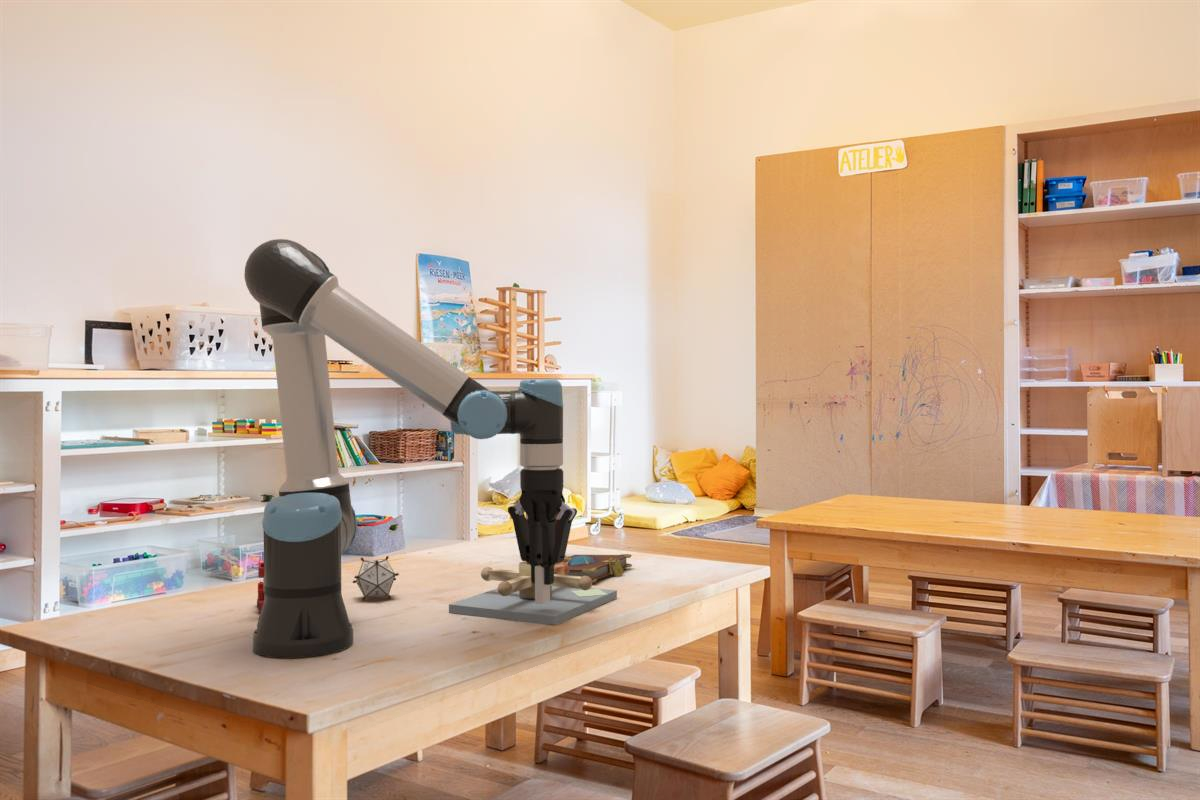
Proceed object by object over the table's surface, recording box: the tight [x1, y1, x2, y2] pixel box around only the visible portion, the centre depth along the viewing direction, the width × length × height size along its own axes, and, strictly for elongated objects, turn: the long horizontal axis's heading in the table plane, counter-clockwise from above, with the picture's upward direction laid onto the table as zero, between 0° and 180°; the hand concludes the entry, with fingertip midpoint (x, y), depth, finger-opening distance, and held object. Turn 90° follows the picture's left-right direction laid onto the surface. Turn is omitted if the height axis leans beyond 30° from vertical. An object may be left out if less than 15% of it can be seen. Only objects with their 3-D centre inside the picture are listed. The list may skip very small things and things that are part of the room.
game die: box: [352, 555, 400, 602], centre depth 191 cm, size 9×8×10 cm
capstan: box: [480, 561, 593, 599], centre depth 184 cm, size 24×24×7 cm
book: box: [554, 553, 633, 583], centre depth 213 cm, size 16×25×5 cm, turn 155°
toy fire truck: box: [256, 561, 264, 614], centre depth 181 cm, size 3×14×10 cm, turn 21°
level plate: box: [448, 586, 618, 626], centre depth 184 cm, size 24×22×3 cm
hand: (542, 602), depth 173 cm, fingers closed
